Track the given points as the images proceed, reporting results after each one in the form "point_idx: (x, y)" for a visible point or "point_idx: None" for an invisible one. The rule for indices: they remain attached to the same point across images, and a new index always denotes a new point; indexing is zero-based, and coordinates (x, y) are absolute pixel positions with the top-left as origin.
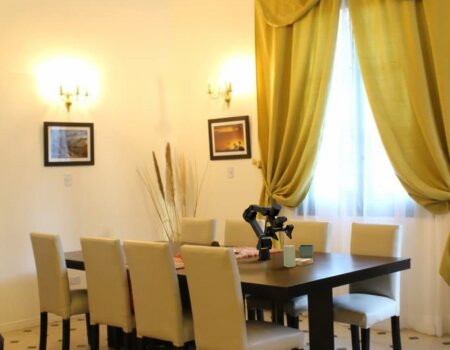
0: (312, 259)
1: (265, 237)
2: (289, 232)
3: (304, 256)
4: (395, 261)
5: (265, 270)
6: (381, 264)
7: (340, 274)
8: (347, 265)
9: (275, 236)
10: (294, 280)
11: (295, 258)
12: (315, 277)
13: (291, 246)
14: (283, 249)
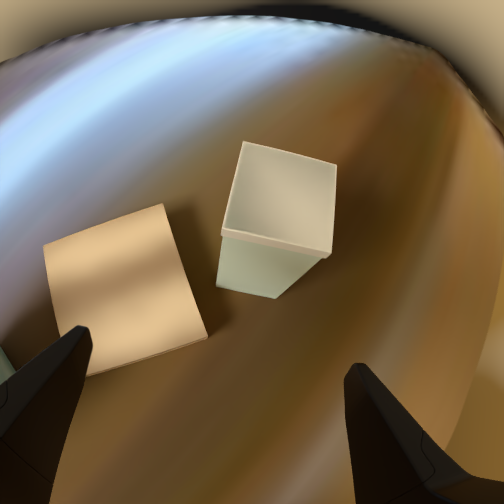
0: (51, 244)
1: None
2: (14, 415)
3: (10, 368)
4: None
5: (427, 251)
6: (7, 63)
7: (241, 16)
8: (55, 93)
9: (406, 418)
10: (401, 60)
11: (99, 364)
12: (333, 37)
13: (287, 153)
14: (314, 263)
